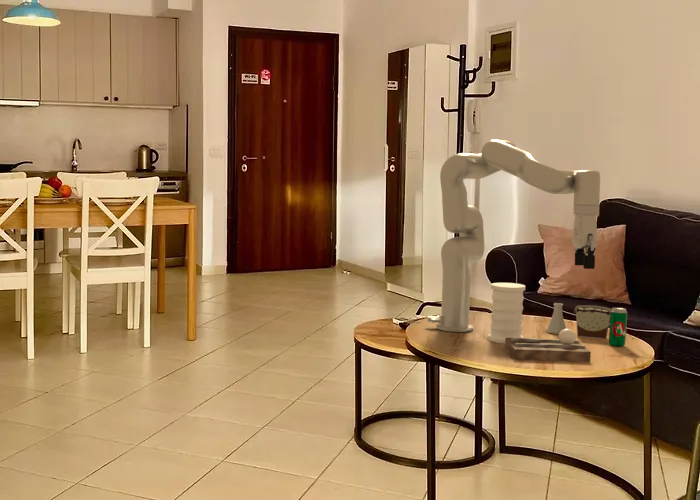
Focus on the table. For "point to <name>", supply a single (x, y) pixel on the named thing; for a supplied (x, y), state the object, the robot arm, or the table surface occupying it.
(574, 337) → the ball
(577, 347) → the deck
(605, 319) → the food container
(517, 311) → the decorative container
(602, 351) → the table surface
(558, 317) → the flask
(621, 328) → the soda can
